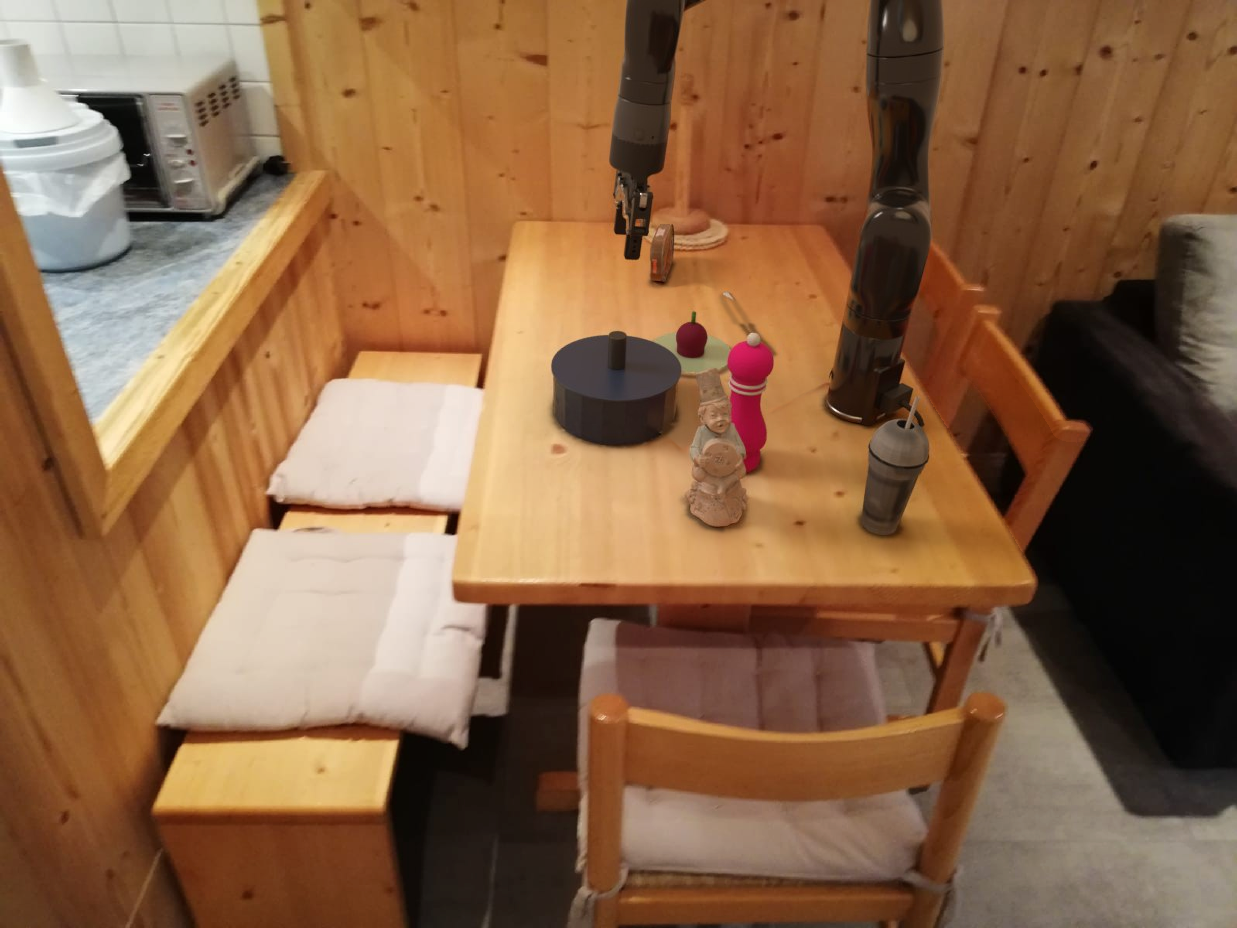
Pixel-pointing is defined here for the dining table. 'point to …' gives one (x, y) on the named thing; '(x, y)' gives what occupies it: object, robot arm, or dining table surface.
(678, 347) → the beet
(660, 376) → the pan lid
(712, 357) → the plate
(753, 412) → the pepper mill
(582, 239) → the dining table surface
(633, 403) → the pan
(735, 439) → the figurine
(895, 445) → the beverage cup
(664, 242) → the tin
